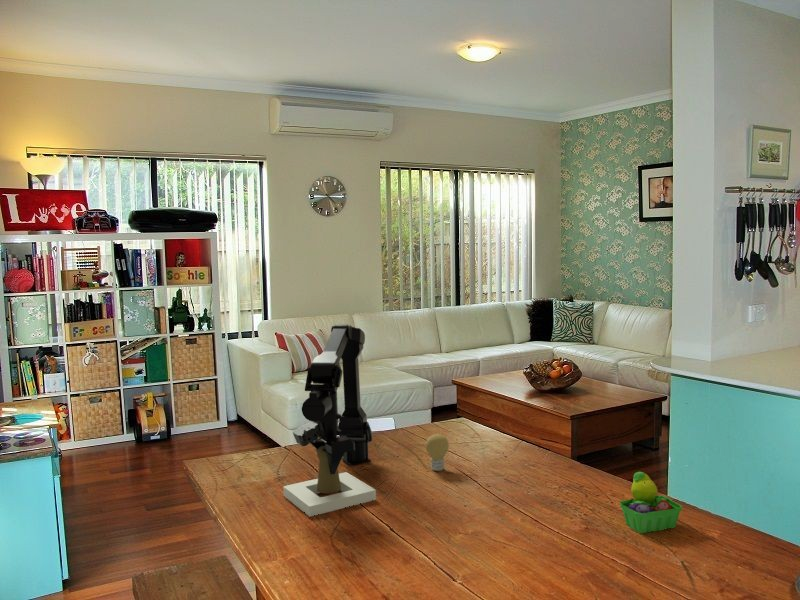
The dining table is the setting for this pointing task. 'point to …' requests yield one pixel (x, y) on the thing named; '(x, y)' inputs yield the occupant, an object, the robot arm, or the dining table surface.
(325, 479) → the olive green peg
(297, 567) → the dining table surface
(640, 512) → the fruit basket
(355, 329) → the robot arm
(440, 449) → the light bulb
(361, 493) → the socket board
